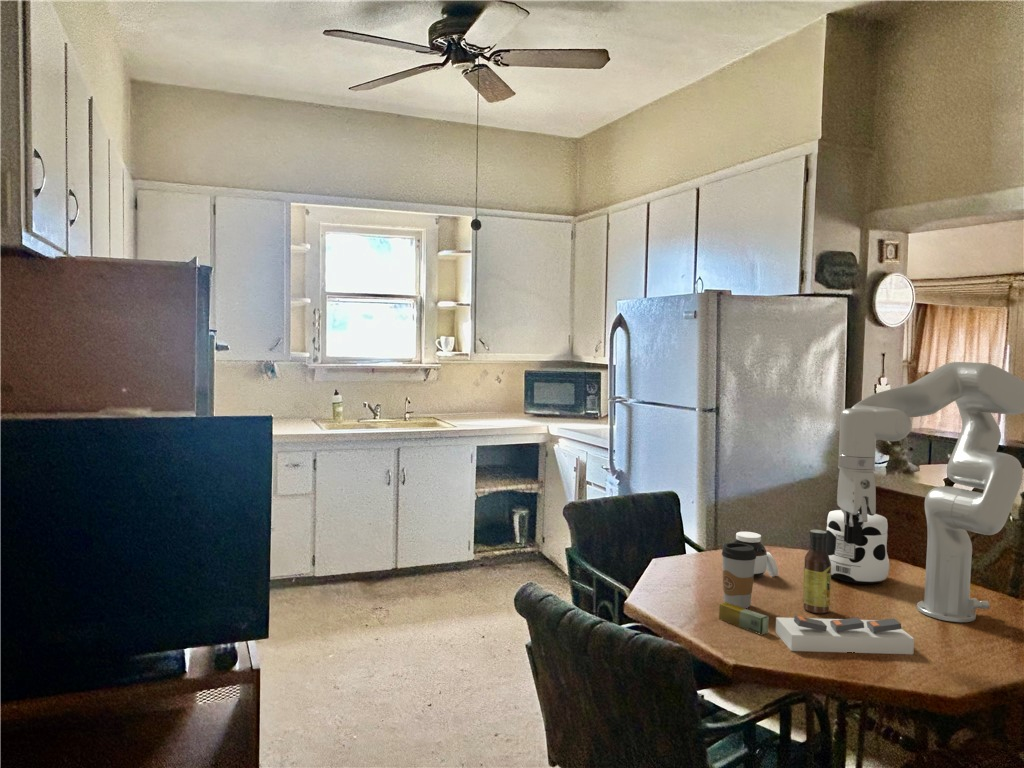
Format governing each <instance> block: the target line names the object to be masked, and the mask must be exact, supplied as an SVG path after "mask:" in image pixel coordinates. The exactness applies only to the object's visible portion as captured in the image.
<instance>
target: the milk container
mask: <svg viewBox="0 0 1024 768" xmlns="http://www.w3.org/2000/svg"><path fill="white" fill-rule="evenodd" d="M858 513H859V512H858ZM867 517H868V521H867V522H864V524H863V527H862V543H861V544H848V543H847V542H845V541H844V528H845V523H844V513H843V512H842V511H841V509H836V510H835V509H834V510H831V511H829V512H828V515H827V520H826V523H827V524H826V532H827V539H826V549H827V553H828V556H829V559H830V562H831V578H833V579H838V580H841V581H843V582H848V583H852V584H861V585H864V584H865V585H872V584H879V583H881V582H884V581H886V579H887V578H888V575H889V572H890V561H889V555H888V552H887V551H888V549H887V547H888V544H887V542H888V529H889V528H888V527H889V525H888V519H887V518H886V517H885V516H883V515H881V514H878V513H875V515H873V516H871V515H868V514H867Z"/></svg>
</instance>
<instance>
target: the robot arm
mask: <svg viewBox="0 0 1024 768" xmlns="http://www.w3.org/2000/svg"><path fill="white" fill-rule="evenodd" d="M953 402H955V404H956V406H957V409H958V411H959V414H960V415H959V416H960V418H961V431H960V434H959V436H958V439H957V440H956V443H955V446H954V448H953V451H952V453H951V455H950V457H949V460H948V463H947V466H946V475H947V478H948V479H949V480H950V481H951V482H953V483H955V484H957V485H961V486H965V487H970V488H974V489H977V490H978V489H979V490H983V491H982V492H978V491H975V490H974V491H973V490H969V489H966V488H965V489H964V488H960V487H954V486H948V485H944V486H943V485H941V486H936V487H933V488H932V489H930V490H929V491H928V492H927V493H926V496H925V498H924V512H925V518H926V526H927V527H926V528H927V543H926V544H927V545H926V561H925V564H926V565H925V579H924V581H925V582H924V600H920V601H918V602H917V603H916V608H917V611H919V612H920V613H921V614H923V615H926V616H927V617H930V618H933V619H938V620H941V621H946V622H951V623H971V622H974V621H975V620H976V618H977V613H976V612H975V611H974V610H977V609H981V610H983V609H984V610H988V609H990V602H989V601H988V600H978V599H977V598H975V597H974V598H973V597H970V593H971V591H970V590H971V576H972V575H971V573H972V559H973V558H972V555H973V544H972V540H971V537H970V535H969V534H968V533H969V532H972V533H975V534H976V533H977V534H979V535H986V536H992V535H995V534H998V533H999V532H1000V531H1001V530H1002V529H1003V528H1004V526H1005V524H1006V523H1007V520H1008V517H1010V514H1011V511H1012V509H1013V506H1014V503H1015V500H1016V498H1017V496H1018V493H1019V492H1020V491H1019V490H1020V488H1021V486H1022V482H1023V475H1024V474H1023V473H1024V472H1023V467H1022V464H1021V462H1020V460H1019V459H1018V458H1017V457H1016V456H1014V455H1011V454H1008V453H1005V452H998V451H997V450H998V448H999V445H1000V444H1001V443H1000V442H1001V440H1002V439H1001V438H1002V433H1001V430H1000V426H999V424H998V423H997V421H996V419H995V418H994V416H993V414H1000V415H1010V416H1013V415H1015V416H1016V415H1021V414H1023V413H1024V380H1023V379H1021V378H1019V377H1017V376H1015V375H1014V374H1013V373H1011V372H1008V371H1007V370H1006V369H1004V368H1000V367H999V366H996V365H994V364H990V363H987V362H968V361H966V362H965V361H964V362H963V361H952V362H948V363H945V364H943V365H941V366H939V367H938V368H936V369H933V370H932V371H930V372H929V373H927V374H926V375H924V376H922V377H921V378H919V379H917V380H915V381H913V382H911V383H909V384H905V385H900V386H897V387H893V388H890V389H887V390H883V391H879V392H877V393H874V394H871V395H869V396H867V397H865V398H864V399H862V400H860V401H858V402H857V403H855V404H854V405H853V406H852V407H851V408H850V407H849V408H845V409H844V408H843V410H842V411H841V413H840V415H839V417H840V418H839V438H838V439H839V440H838V443H839V444H838V461H837V462H838V463H837V468H838V469H839V473H838V480H837V493H836V504H837V506H838V507H839V508H840V510H841V511H842V512H843V513H844V523H845V528H844V541H845V542H847V543H848V544H861V543H862V527H863V524H864V522H867V521H868V517H867V514H868V515H871V516H873V515H875V514H877V513H876V511H877V507H876V506H877V502H876V501H877V497H876V496H877V494H876V493H877V491H876V489H877V488H876V479H875V464H876V448H877V447H876V445H877V441H878V440H879V441H885V442H897V441H902V440H903V439H905V438H906V437H908V435H909V434H910V432H911V430H912V420H911V418H919V417H926V416H930V415H934V414H936V413H937V412H939V411H941V410H943V409H944V408H946V407H948V405H950V404H952V403H953ZM858 512H859V513H858Z"/></svg>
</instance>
